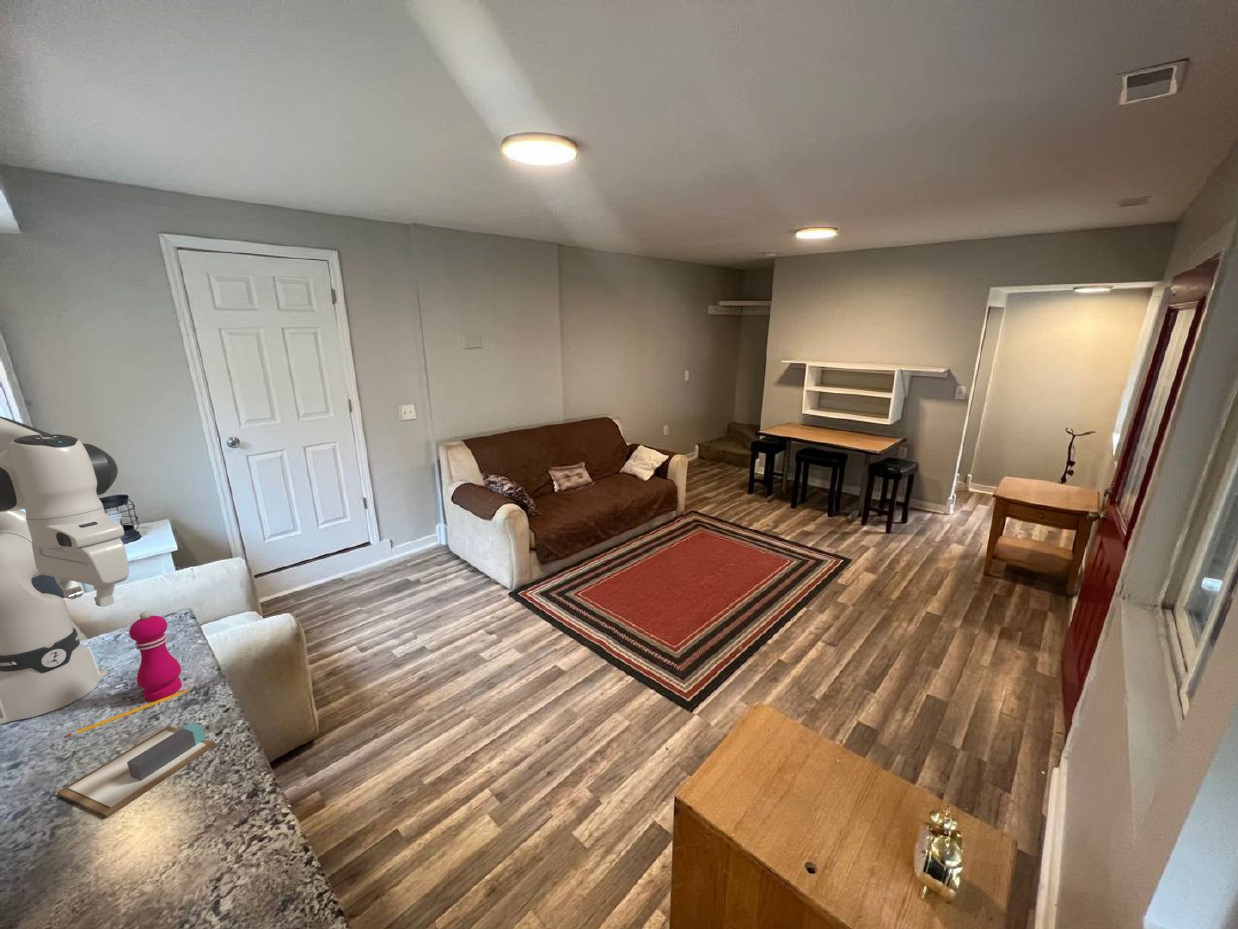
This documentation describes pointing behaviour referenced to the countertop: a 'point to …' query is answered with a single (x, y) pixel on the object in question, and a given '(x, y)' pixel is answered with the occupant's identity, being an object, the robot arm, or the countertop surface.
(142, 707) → the pencil
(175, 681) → the pepper mill
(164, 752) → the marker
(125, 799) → the board
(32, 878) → the countertop surface
